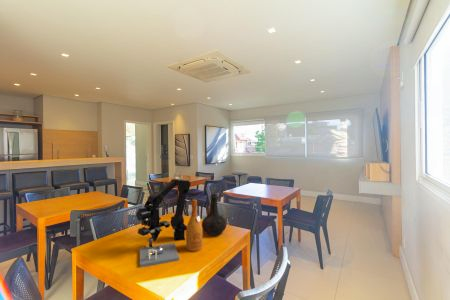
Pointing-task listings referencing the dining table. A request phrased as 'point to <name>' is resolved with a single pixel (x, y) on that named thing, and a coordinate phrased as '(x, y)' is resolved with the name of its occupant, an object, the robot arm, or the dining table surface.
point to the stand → (158, 255)
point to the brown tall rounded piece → (194, 230)
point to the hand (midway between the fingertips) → (154, 241)
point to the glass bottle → (214, 219)
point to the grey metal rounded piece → (158, 248)
